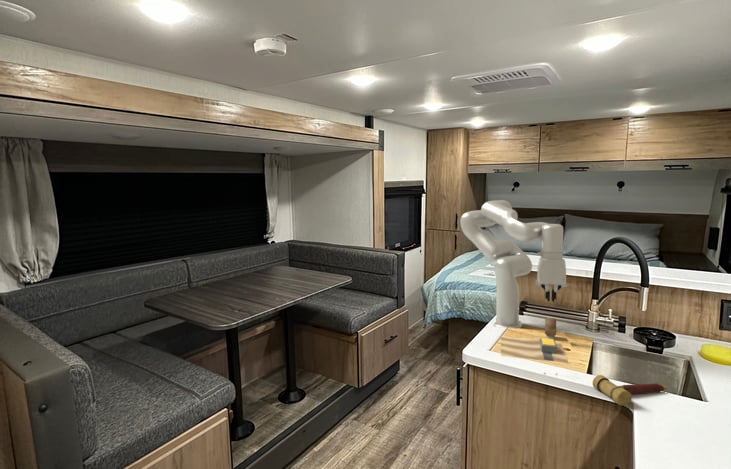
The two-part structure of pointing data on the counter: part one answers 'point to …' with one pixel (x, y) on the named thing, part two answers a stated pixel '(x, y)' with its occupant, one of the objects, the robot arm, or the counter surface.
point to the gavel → (623, 389)
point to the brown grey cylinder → (550, 328)
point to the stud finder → (548, 345)
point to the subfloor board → (530, 349)
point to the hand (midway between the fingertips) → (550, 300)
